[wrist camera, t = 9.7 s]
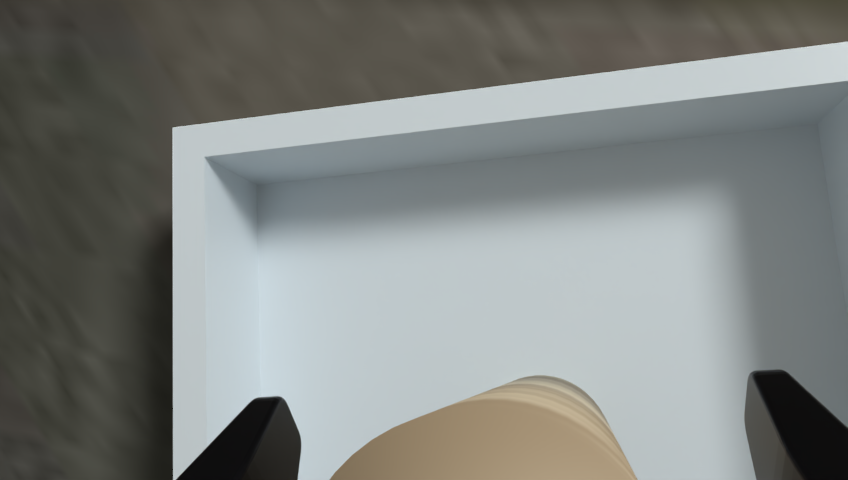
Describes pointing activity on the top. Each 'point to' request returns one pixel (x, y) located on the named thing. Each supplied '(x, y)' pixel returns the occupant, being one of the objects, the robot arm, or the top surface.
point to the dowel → (499, 439)
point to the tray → (521, 256)
